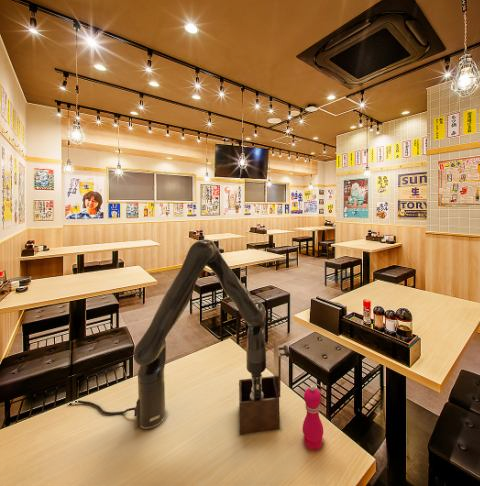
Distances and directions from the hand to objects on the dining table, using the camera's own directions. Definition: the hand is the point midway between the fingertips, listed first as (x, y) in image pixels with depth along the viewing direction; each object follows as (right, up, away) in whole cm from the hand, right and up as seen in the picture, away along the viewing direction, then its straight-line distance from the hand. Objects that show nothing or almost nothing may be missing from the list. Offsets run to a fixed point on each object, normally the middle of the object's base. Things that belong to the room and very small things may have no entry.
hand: (256, 398), depth 99 cm
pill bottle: (0, -6, 0) cm, 6 cm away
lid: (+8, +12, +1) cm, 14 cm away
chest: (+1, -8, 0) cm, 8 cm away
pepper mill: (+20, -8, -10) cm, 24 cm away
